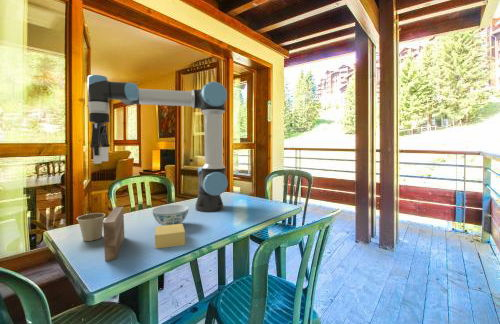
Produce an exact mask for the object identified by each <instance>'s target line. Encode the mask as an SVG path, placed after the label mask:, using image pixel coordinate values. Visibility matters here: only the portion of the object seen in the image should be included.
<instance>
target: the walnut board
mask: <svg viewBox="0 0 500 324" xmlns="http://www.w3.org/2000/svg"><path fill="white" fill-rule="evenodd" d="M102 231H103V247H104V262H105V261H106V262H108V261H113V260H114V261H115V260H117V258H118V256H119V255H118V254H119V252H120V250H121V247H122V244H123V243H124V240H125V216H124V206H117V207H114V208H113V209H112V210H111V211H110V213H109V214H108V215H107V217H106V218H105V219H104V220H103V230H102Z"/></svg>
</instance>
